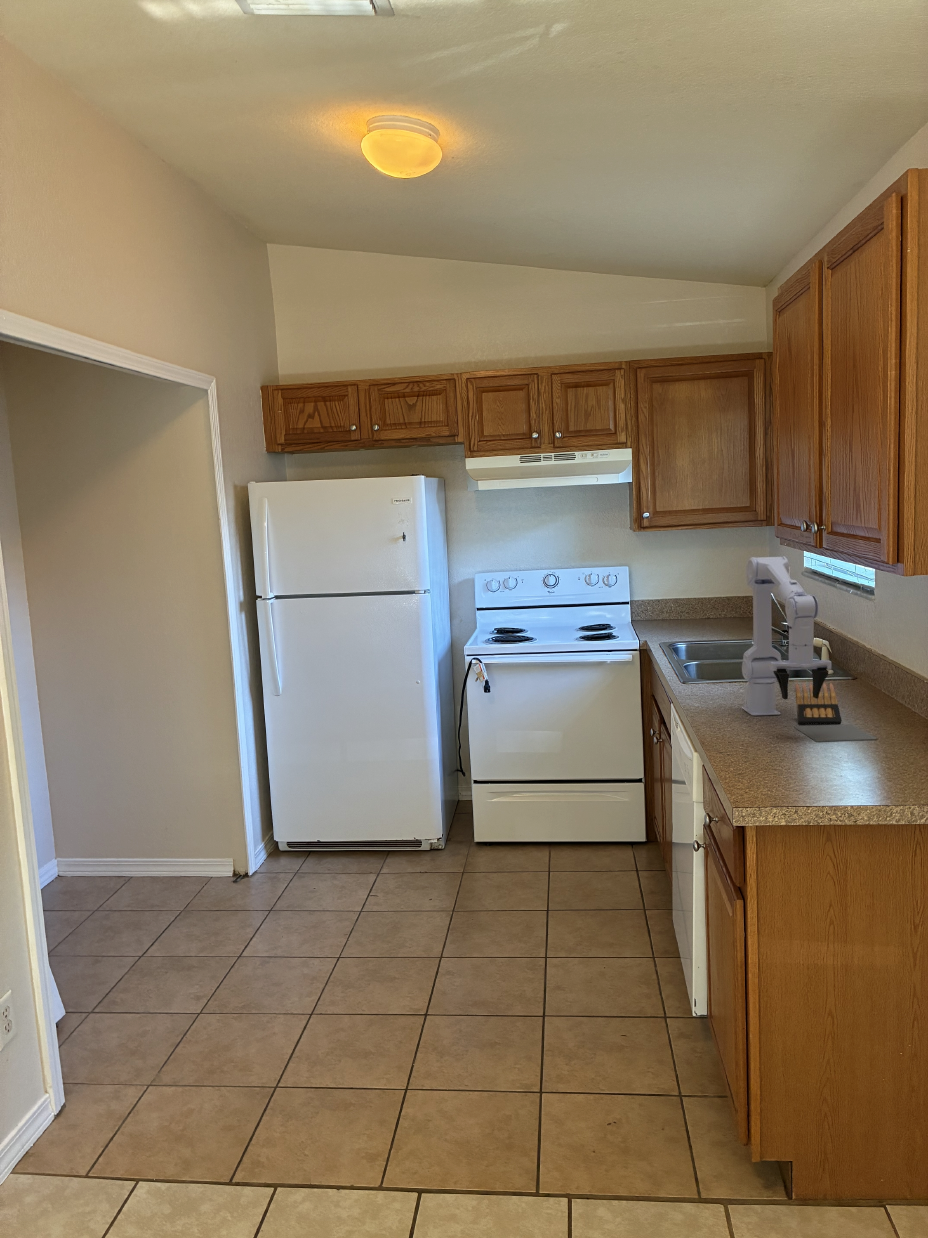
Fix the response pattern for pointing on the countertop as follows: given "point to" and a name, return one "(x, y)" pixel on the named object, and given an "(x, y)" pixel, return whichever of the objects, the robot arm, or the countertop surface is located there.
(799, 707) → the ammunition clip
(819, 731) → the mat
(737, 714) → the countertop surface
